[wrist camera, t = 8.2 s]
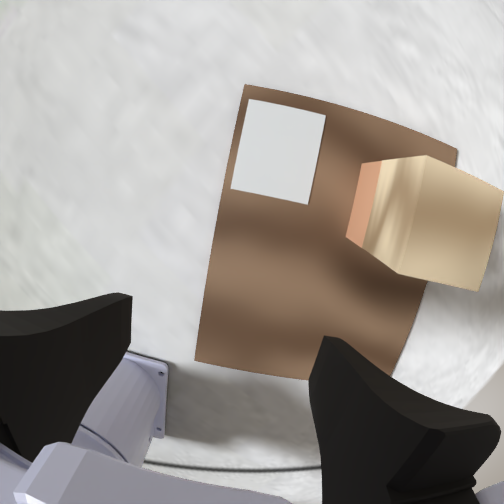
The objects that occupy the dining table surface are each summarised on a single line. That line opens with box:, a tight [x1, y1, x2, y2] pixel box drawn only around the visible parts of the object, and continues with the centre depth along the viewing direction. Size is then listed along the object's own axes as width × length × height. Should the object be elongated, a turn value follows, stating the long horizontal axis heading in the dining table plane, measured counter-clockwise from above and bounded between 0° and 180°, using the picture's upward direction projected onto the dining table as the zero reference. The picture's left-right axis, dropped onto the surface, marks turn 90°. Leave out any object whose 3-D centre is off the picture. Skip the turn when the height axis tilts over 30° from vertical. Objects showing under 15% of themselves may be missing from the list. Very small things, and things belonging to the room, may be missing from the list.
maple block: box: [362, 155, 504, 292], centre depth 13 cm, size 5×5×5 cm
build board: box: [194, 84, 457, 380], centre depth 20 cm, size 20×16×1 cm
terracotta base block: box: [346, 161, 382, 248], centre depth 18 cm, size 5×5×4 cm
